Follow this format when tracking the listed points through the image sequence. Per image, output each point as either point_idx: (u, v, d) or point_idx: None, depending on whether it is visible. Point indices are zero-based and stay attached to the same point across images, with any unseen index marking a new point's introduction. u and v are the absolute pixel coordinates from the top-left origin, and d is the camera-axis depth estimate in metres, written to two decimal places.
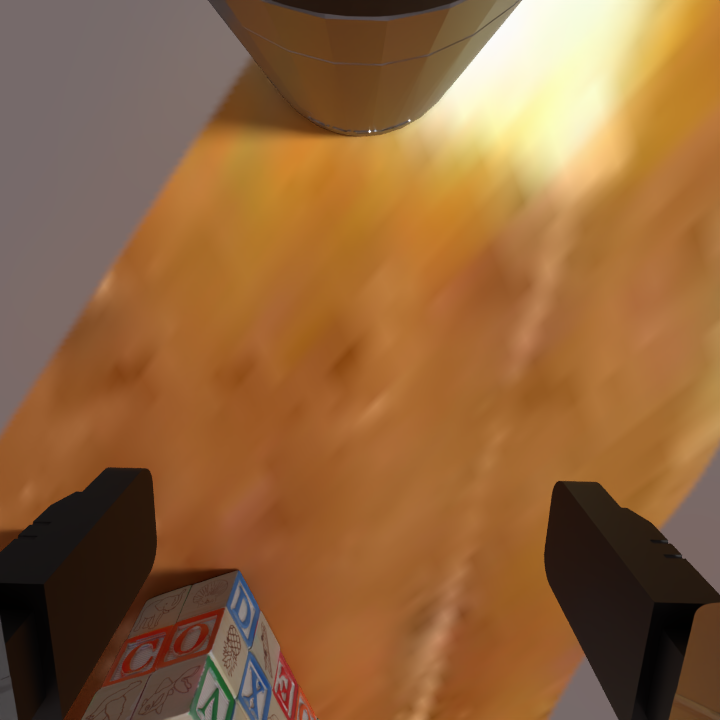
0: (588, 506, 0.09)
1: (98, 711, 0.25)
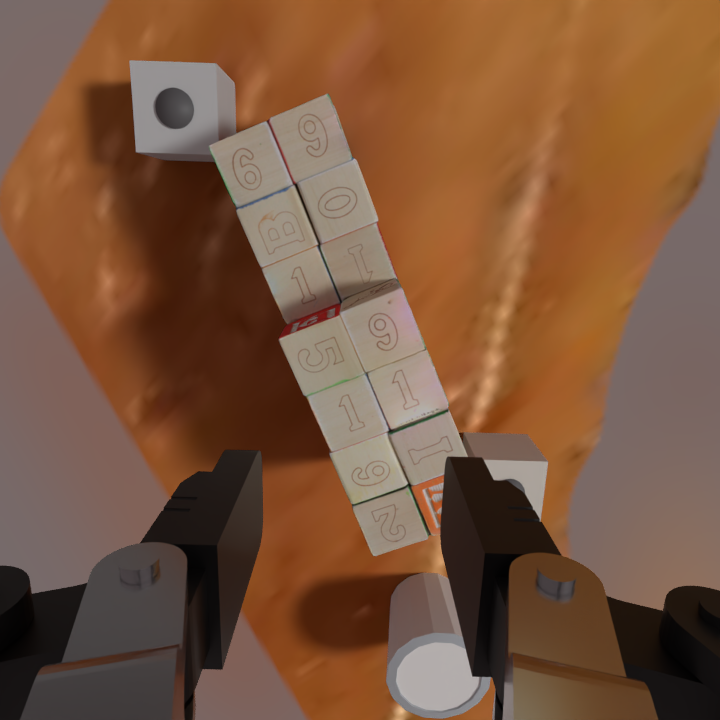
0: (463, 477, 0.10)
1: None
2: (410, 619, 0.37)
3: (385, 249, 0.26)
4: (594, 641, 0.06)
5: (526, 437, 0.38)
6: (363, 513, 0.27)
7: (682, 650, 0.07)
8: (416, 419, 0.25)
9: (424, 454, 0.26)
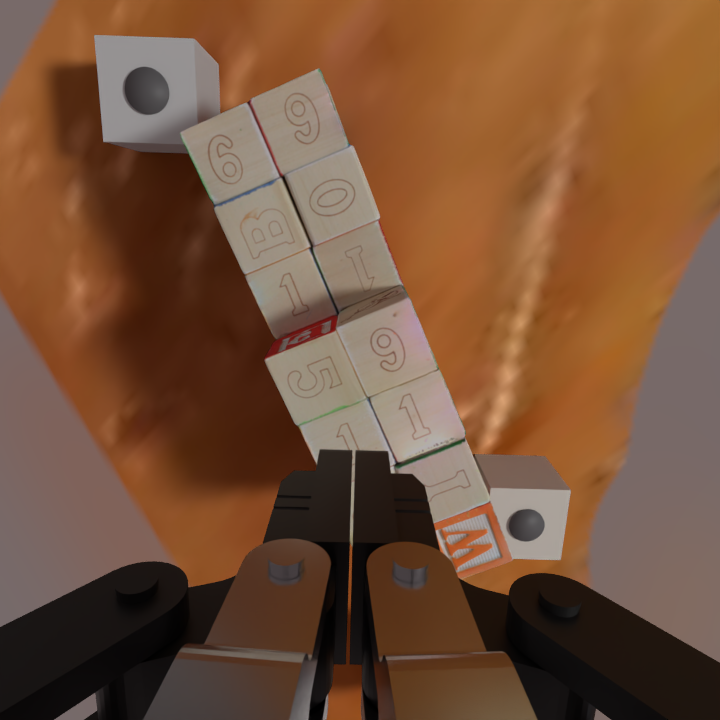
0: (361, 469, 0.10)
1: None
2: None
3: (388, 251, 0.23)
4: (424, 625, 0.06)
5: (544, 460, 0.34)
6: None
7: (530, 645, 0.07)
8: (428, 450, 0.22)
9: (437, 491, 0.22)
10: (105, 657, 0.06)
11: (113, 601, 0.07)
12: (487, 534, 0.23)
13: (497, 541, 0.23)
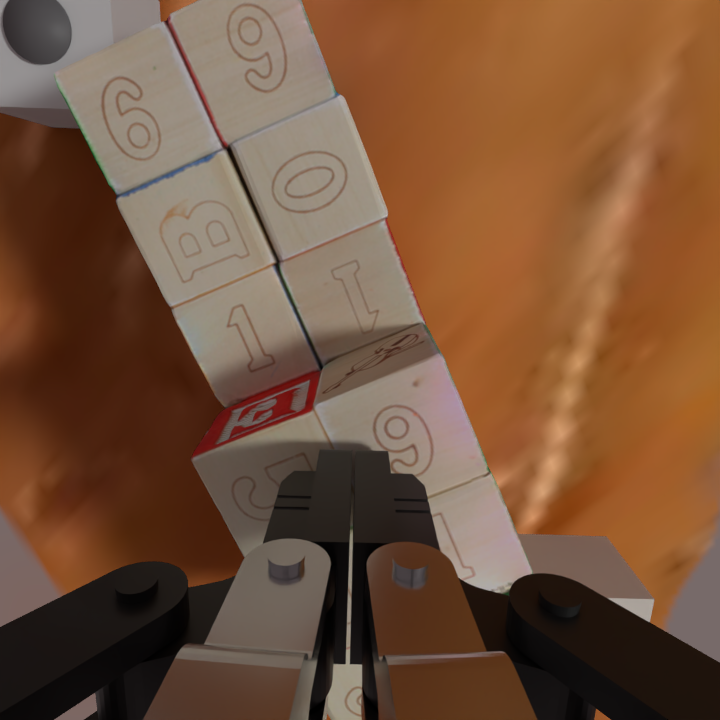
0: (361, 469, 0.10)
1: None
2: None
3: (402, 269, 0.14)
4: (424, 625, 0.06)
5: (606, 544, 0.26)
6: None
7: (530, 645, 0.07)
8: None
9: None
10: (106, 657, 0.06)
11: (113, 601, 0.07)
12: None
13: None
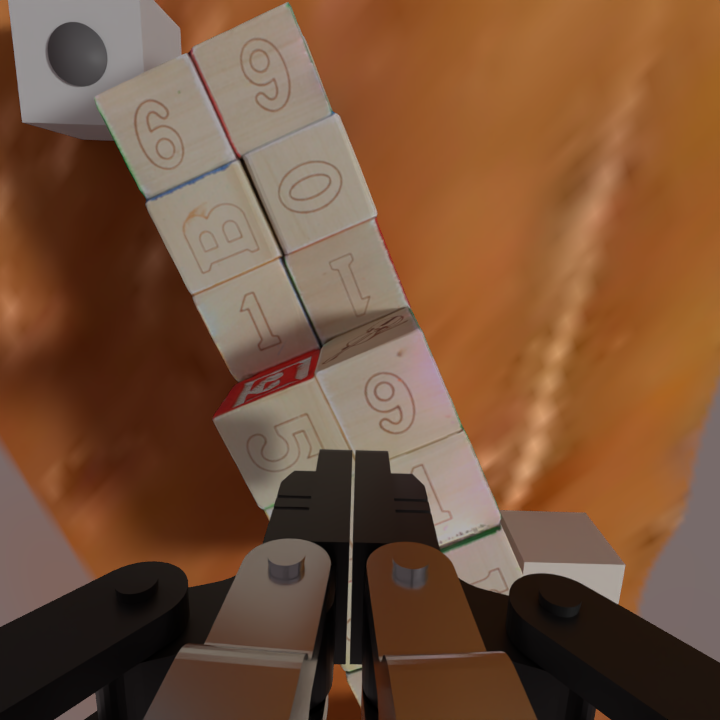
0: (361, 469, 0.10)
1: None
2: None
3: (390, 261, 0.16)
4: (424, 625, 0.06)
5: (585, 519, 0.28)
6: None
7: (530, 645, 0.06)
8: (448, 541, 0.15)
9: None
10: (105, 657, 0.06)
11: (113, 601, 0.07)
12: None
13: None
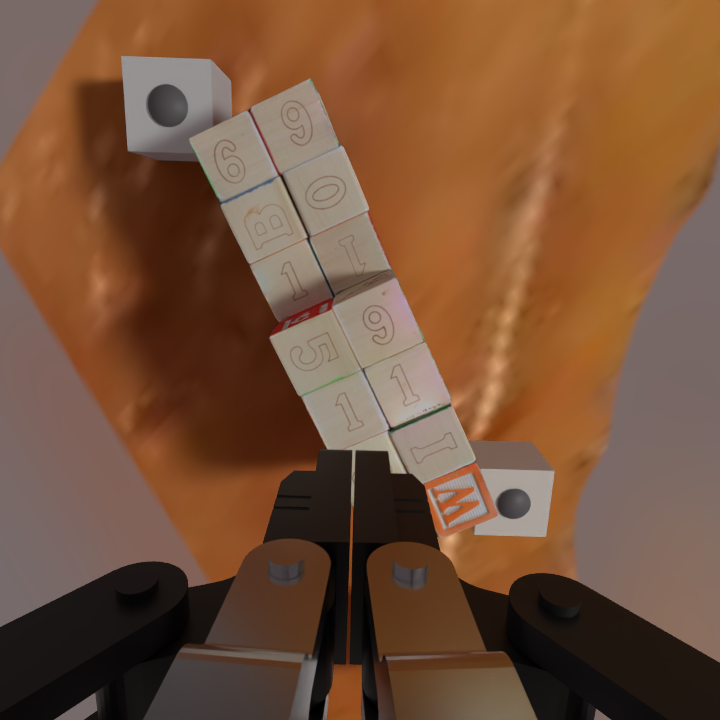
0: (361, 469, 0.10)
1: None
2: None
3: (378, 239, 0.25)
4: (424, 625, 0.06)
5: (531, 445, 0.37)
6: None
7: (530, 645, 0.06)
8: (418, 415, 0.24)
9: (428, 452, 0.24)
10: (106, 656, 0.06)
11: (113, 601, 0.07)
12: (474, 492, 0.25)
13: (484, 498, 0.25)
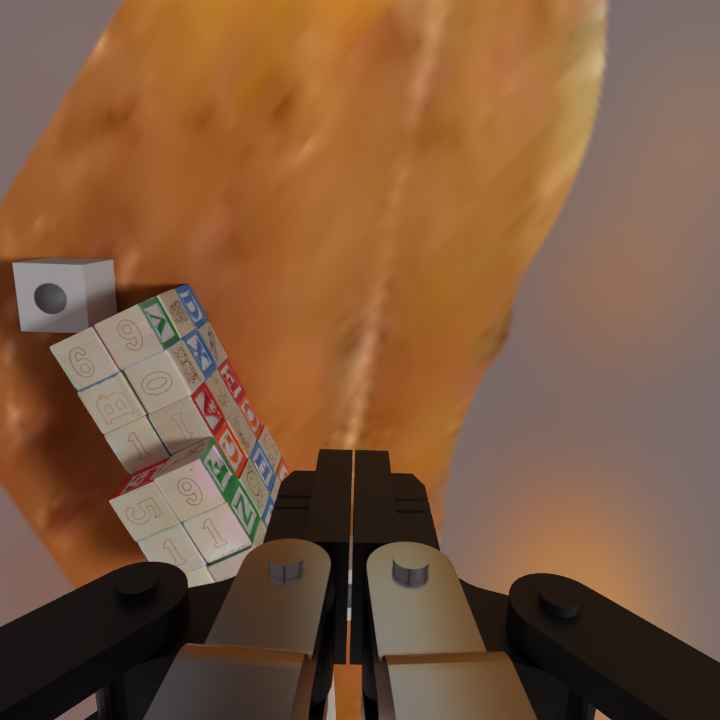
0: (361, 469, 0.10)
1: None
2: None
3: (200, 415, 0.33)
4: (424, 625, 0.06)
5: None
6: None
7: (529, 645, 0.07)
8: (227, 554, 0.32)
9: None
10: (106, 656, 0.06)
11: (113, 601, 0.07)
12: None
13: None
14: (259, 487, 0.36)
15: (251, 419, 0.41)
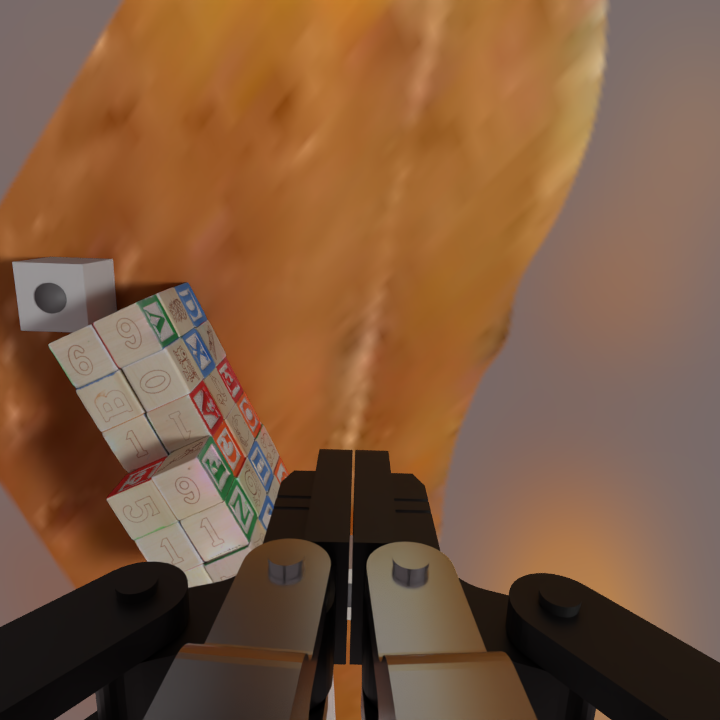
0: (361, 469, 0.10)
1: None
2: None
3: (198, 414, 0.33)
4: (424, 625, 0.06)
5: None
6: None
7: (530, 645, 0.06)
8: (224, 553, 0.32)
9: None
10: (105, 656, 0.06)
11: (113, 601, 0.07)
12: None
13: None
14: (256, 486, 0.36)
15: (249, 418, 0.41)
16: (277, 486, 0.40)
